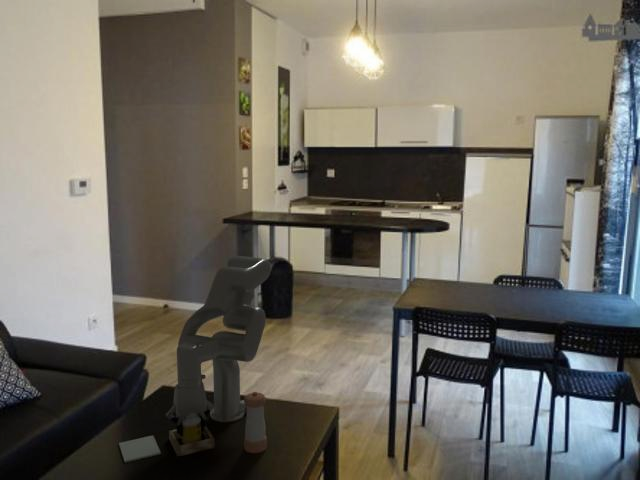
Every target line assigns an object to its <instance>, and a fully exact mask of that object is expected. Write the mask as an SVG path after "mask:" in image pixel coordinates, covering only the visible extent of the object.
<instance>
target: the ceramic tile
mask: <svg viewBox="0 0 640 480" xmlns="http://www.w3.org/2000/svg"><path fill="white" fill-rule="evenodd" d="M157 443H158V442H157V441H156V439H155V437H154V435H149V436H144V437H140V438H136V439H132V440H126V441H121V442H118V445H119V450H120V452H121V455H122V458H123V462H124V463H129V462H134V461H137V460H142V458H143V459H146V458H150V457H154V456H158V455H161V450H160V448H159V446H158V444H157Z"/></svg>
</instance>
